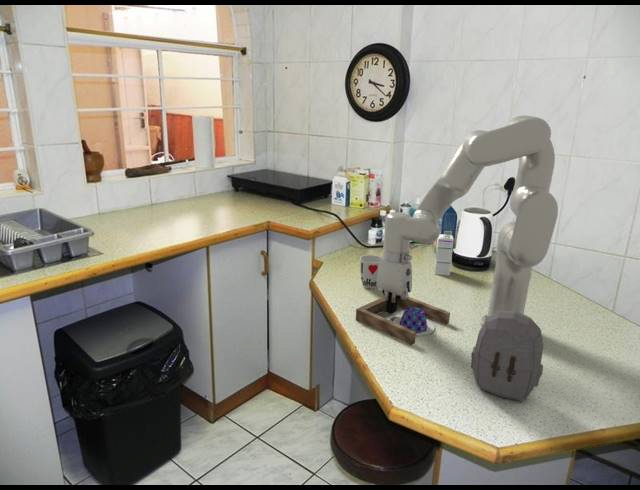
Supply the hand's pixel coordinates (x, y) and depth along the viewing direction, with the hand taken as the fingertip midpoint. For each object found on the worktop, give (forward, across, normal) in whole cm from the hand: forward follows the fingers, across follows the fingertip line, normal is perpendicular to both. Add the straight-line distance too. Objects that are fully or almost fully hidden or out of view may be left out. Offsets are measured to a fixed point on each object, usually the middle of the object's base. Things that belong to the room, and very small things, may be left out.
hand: (391, 312), depth 141 cm
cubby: (+2, -4, 0) cm, 5 cm away
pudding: (+2, -8, 0) cm, 8 cm away
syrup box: (+2, +10, -45) cm, 46 cm away
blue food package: (+2, +22, -65) cm, 69 cm away
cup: (+2, +20, -14) cm, 24 cm away
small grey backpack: (+2, -40, +12) cm, 42 cm away
